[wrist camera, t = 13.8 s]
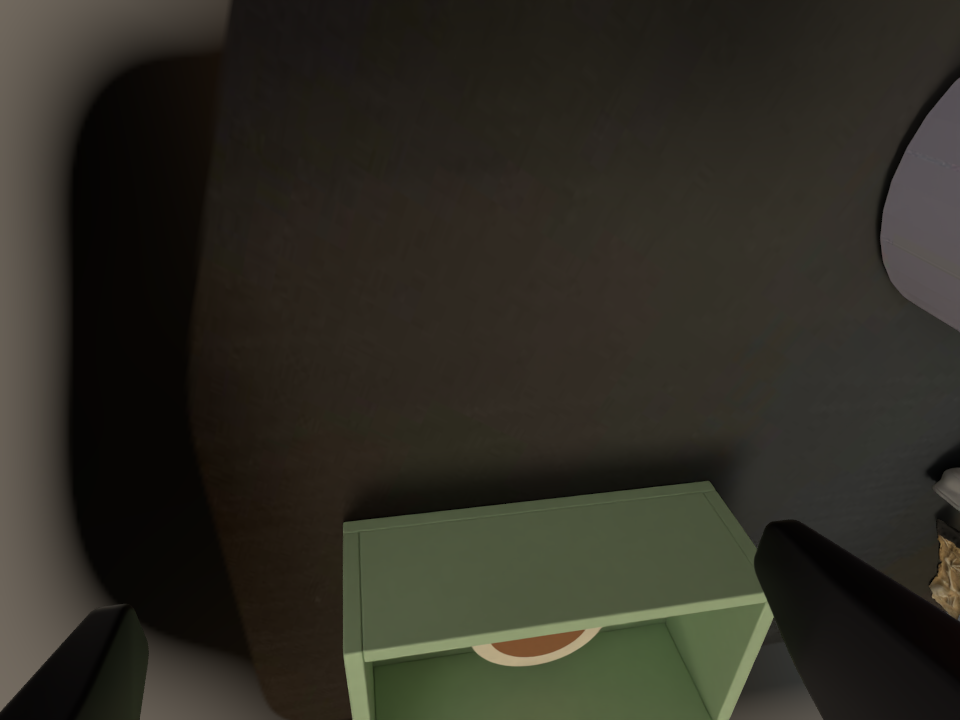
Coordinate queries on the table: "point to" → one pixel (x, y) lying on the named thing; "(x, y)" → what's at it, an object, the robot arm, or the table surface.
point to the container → (927, 215)
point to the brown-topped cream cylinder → (535, 648)
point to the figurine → (949, 487)
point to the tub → (554, 608)
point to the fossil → (948, 570)
